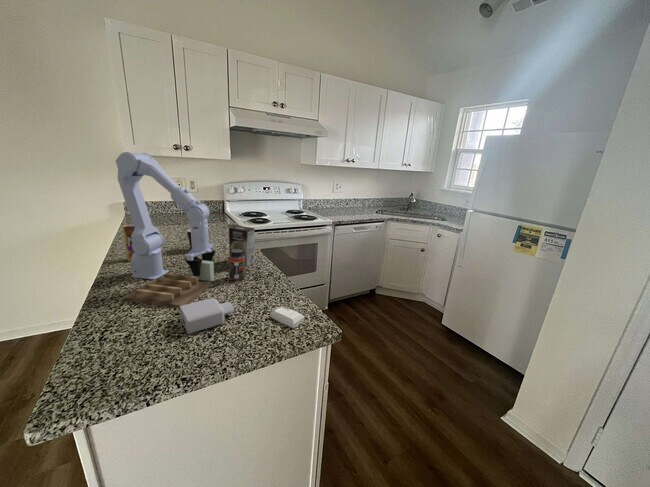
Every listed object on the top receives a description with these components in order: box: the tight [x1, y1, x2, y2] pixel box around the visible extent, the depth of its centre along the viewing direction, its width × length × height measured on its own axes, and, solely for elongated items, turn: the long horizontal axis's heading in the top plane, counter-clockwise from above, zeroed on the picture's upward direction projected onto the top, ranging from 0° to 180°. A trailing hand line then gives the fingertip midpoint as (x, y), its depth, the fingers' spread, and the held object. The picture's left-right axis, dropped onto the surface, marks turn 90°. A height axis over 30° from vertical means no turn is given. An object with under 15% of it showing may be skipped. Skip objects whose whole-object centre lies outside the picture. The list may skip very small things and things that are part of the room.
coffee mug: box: [186, 228, 192, 250], centre depth 132 cm, size 12×9×10 cm
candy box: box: [122, 223, 135, 262], centre depth 114 cm, size 9×4×15 cm, turn 126°
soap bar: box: [269, 305, 305, 329], centre depth 80 cm, size 5×9×3 cm, turn 57°
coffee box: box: [228, 225, 256, 267], centre depth 118 cm, size 9×6×16 cm
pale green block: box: [189, 260, 215, 282], centre depth 101 cm, size 8×2×7 cm, turn 83°
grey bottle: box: [179, 297, 240, 335], centre depth 77 cm, size 5×9×15 cm
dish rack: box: [121, 272, 212, 309], centre depth 90 cm, size 20×16×4 cm
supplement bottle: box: [228, 249, 246, 282], centre depth 103 cm, size 6×6×11 cm
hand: (202, 272), depth 102 cm, fingers open, 7 cm apart
